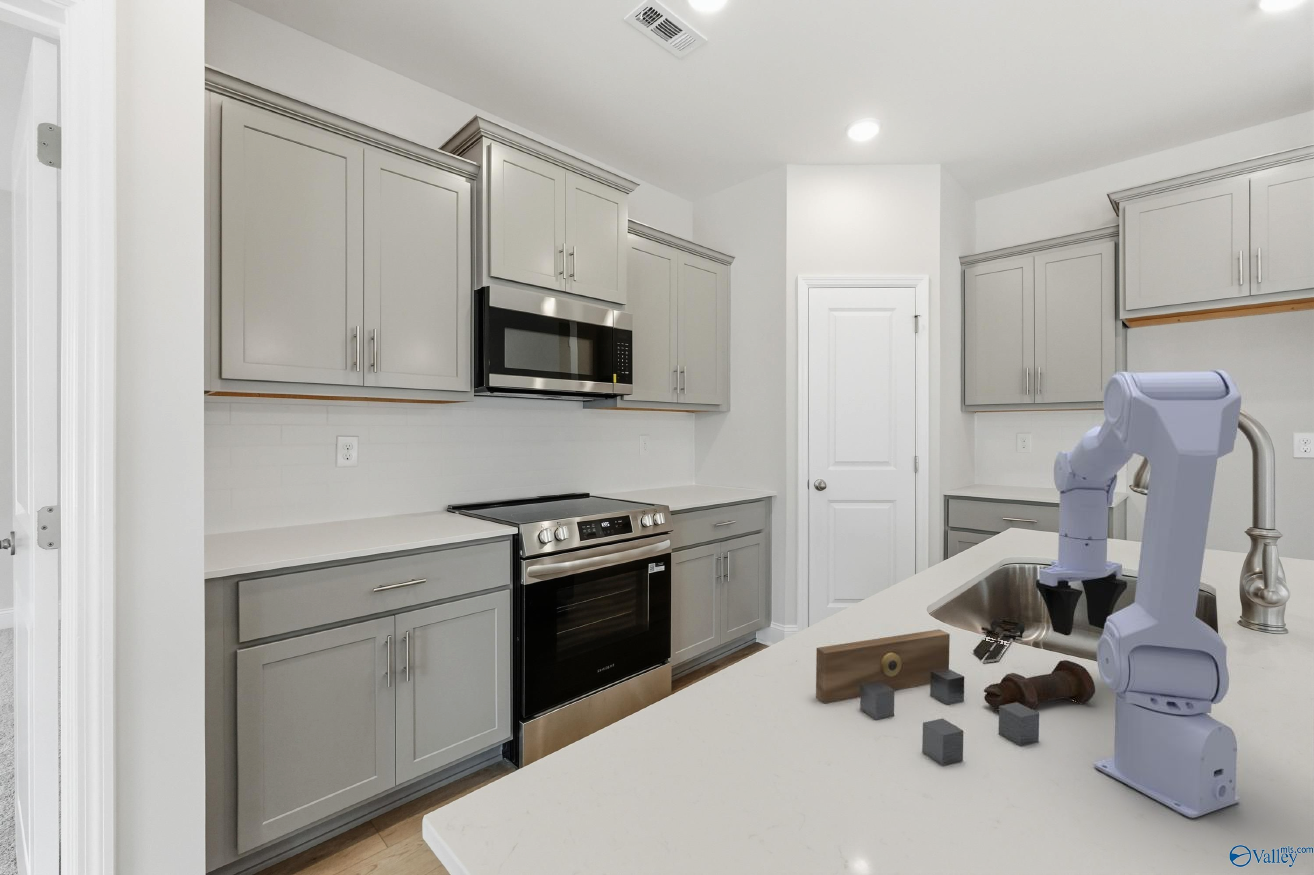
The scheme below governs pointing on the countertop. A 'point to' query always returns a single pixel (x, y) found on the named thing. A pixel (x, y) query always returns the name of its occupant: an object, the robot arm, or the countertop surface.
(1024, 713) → the gray stone cubes
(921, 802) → the countertop surface
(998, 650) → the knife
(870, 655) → the aperture board
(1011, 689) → the bolt
